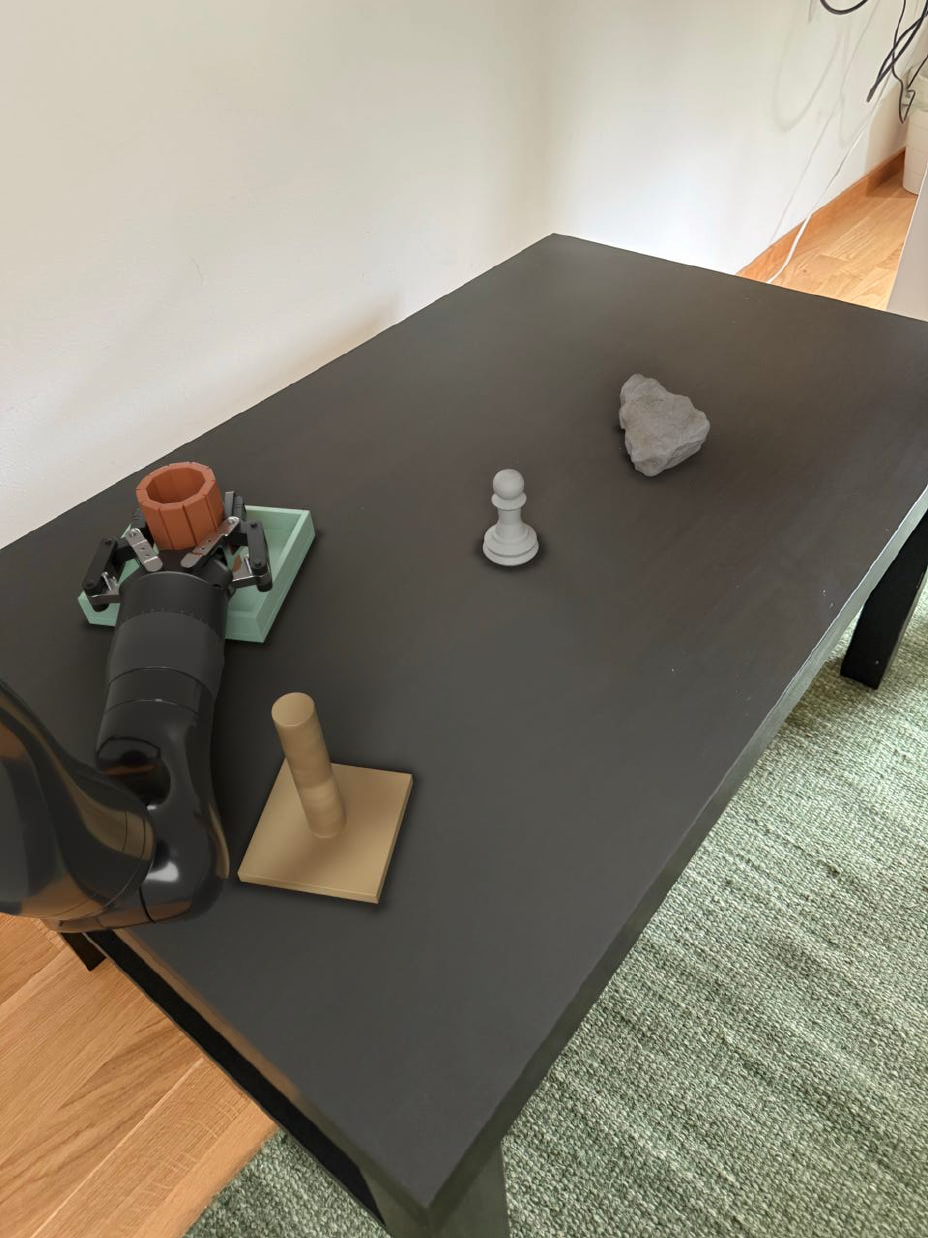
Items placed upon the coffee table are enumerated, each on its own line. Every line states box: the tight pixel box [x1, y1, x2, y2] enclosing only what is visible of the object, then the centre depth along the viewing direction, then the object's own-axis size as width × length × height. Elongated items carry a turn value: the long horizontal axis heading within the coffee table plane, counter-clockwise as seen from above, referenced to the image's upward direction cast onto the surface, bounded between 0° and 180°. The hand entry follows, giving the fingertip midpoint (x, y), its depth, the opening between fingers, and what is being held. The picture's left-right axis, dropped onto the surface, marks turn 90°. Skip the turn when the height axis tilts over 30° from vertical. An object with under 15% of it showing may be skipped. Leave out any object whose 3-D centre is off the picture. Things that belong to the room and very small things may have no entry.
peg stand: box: [237, 692, 414, 904], centre depth 56 cm, size 9×9×12 cm
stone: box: [618, 373, 711, 477], centre depth 86 cm, size 10×8×6 cm
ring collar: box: [135, 461, 242, 572], centre depth 75 cm, size 6×6×9 cm
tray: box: [77, 504, 316, 643], centre depth 78 cm, size 15×13×3 cm
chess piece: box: [482, 468, 540, 567], centre depth 76 cm, size 5×5×8 cm
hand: (191, 505), depth 76 cm, fingers closed on ring collar, 6 cm apart
